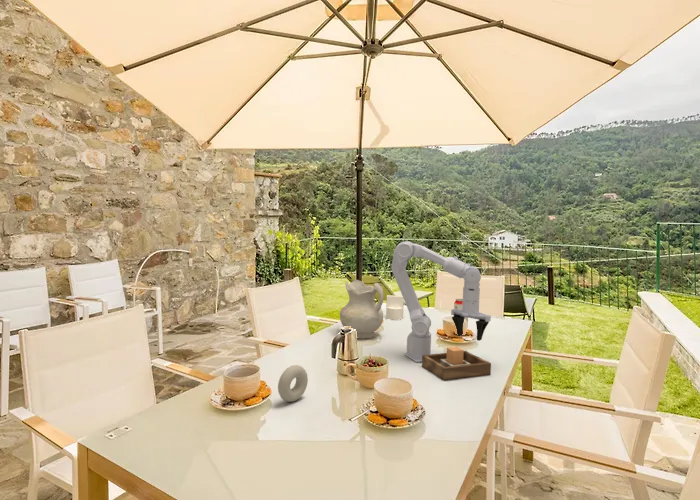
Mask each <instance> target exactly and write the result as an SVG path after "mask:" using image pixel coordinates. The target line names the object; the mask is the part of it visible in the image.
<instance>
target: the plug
mask: <svg viewBox="0 0 700 500" xmlns="http://www.w3.org/2000/svg"><path fill="white" fill-rule="evenodd" d="M464 351H465V350H464V349H462V348H461V347H458V346H453V347H446V353H447V358H446V361H447V362H449V363H450V364H452V365H460V364H463V354H464Z"/></svg>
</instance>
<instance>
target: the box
mask: <svg viewBox="0 0 700 500" xmlns="http://www.w3.org/2000/svg"><path fill="white" fill-rule="evenodd" d="M446 358H447V352H443V353H442V352H441V353H434V354H430V355H422V362H421V367H422V368H423V369H425V370H427V371H428V372H429V373H431V374H433V375H434V376H436V377H437V378H439V379H441V380H442V381H444V382H446V381H447V382H448V381H454V380H455V381H456V380H461V379H462V380H463V379H469V378H477V377H478V378H479V377H485V376H491V374H492V371H491V370H492V362H489V361H487V360H485V359H483V358H482V357H480V356H478V355H475V354H472V353H471V352H469V351H466V350H464V354H463V364H460V365H452V364H450V363H449V362H447V361H446Z"/></svg>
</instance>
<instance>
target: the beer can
mask: <svg viewBox="0 0 700 500" xmlns="http://www.w3.org/2000/svg"><path fill="white" fill-rule="evenodd" d="M462 305H463V298H455V301H454V304H453V309H457V310H462ZM464 319H466V321H467V327H468V322H469V318H468V317H465V318H464Z"/></svg>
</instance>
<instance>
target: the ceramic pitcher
mask: <svg viewBox="0 0 700 500" xmlns="http://www.w3.org/2000/svg"><path fill="white" fill-rule="evenodd" d="M344 284H345V289H346V292H347V293H348V297H349V298H348V299H349V300H348V303H346V304H345V305H344V306H343V307H342V308H341V309H340V311H339V319H340V322H341V323H340V324H341V325H342V327H344V326H351V327H352V328H354V329H356V331H357V337H358V338H357V339H363V340H364V339H365V340H369V339H373V338H375V334H374V332H376V331H378V330H379V328H380V327H381V325H382V324H383V322H384V311H383V309H382V305H383V303H384V290H383V285H382V284H381V282H374V283H373V284H374V286H373V285H366V284H365V282H364V281H361V280H359V279H354V280H352V281H351V282H350V283H348V282H347V281H346V282H345V283H344ZM377 293H378V301H377V303H376V302H375V297H376V294H377Z"/></svg>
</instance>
